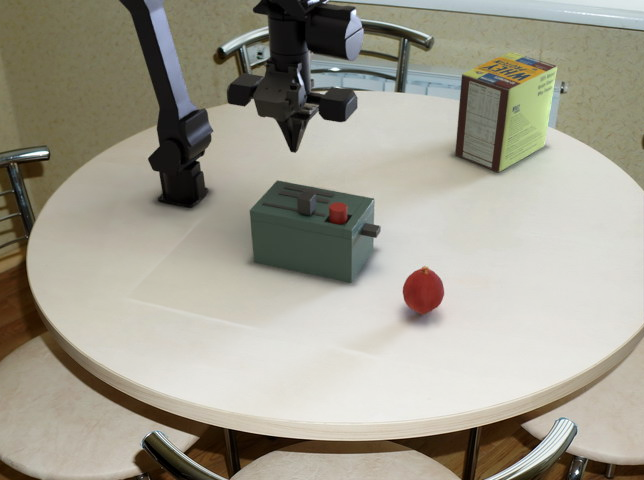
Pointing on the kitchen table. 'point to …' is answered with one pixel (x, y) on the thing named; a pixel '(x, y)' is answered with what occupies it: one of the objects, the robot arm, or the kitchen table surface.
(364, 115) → the kitchen table surface
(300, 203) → the slider
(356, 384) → the kitchen table surface
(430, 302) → the onion
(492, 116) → the protein box
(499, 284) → the kitchen table surface
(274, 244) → the toaster
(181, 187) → the robot arm
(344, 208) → the button
